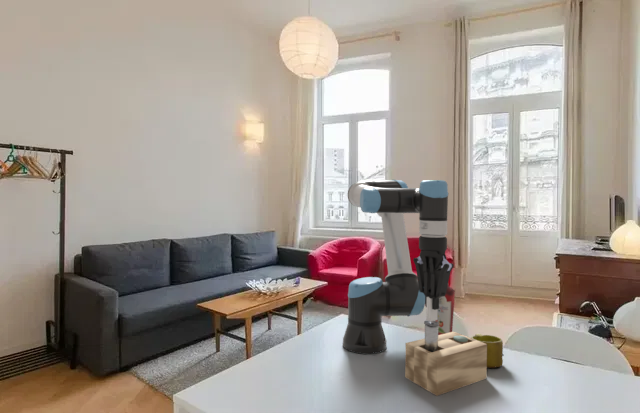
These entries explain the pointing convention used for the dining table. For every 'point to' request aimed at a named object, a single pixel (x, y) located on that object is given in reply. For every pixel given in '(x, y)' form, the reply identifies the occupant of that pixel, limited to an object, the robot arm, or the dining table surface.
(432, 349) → the metal pin
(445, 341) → the oak block
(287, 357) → the dining table surface
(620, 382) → the dining table surface
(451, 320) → the liquor
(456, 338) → the walnut peg
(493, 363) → the mug
